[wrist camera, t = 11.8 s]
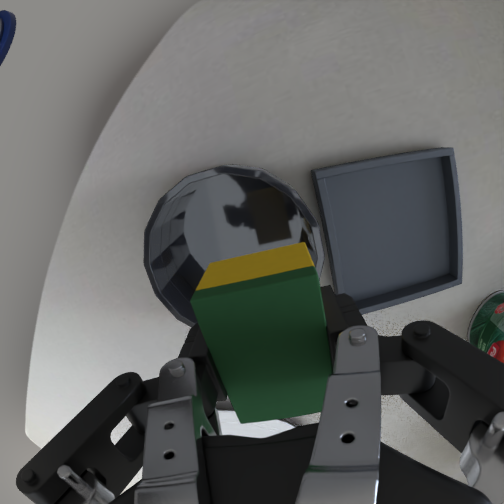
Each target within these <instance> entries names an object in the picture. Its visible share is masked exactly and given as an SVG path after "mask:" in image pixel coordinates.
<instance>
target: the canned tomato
mask: <svg viewBox="0 0 504 504" xmlns="http://www.w3.org/2000/svg"><path fill="white" fill-rule="evenodd" d="M468 342H469V343H470V344H472V345H474V346H475V347H477V348H479V349H481V350H482V351H484V352H486V353H487V354H489V355H491V356H492V357H494V358H496V359H497V360H499V361H501V362H502V363H504V291H498V292H496V293H493V294H492V295H490V296H489V297H488V298H487V299H486V300H484V302H483V303H482V304H481V305H480V306H479V308H478V309H477V311H476V312H475V314H474V316H473V318H472V320H471V322H470V326H469V329H468Z"/></svg>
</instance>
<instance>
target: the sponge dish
mask: <svg viewBox="0 0 504 504" xmlns="http://www.w3.org/2000/svg"><path fill="white" fill-rule="evenodd" d="M311 174H312V178H313V182H314V187H315V191H316V196H317V200H318V205H319V210H320V214H321V219H322V224H323V229H324V234H325V239H326V245H327V250H328V256H329V261H330V267H331V273H332V279H333V285H334V291H335V295H338V294H342V293H345V294H347V295H349V296H351V297H352V298H353V300H354V302H355V304H356V305H357V307H358V310H359V311H360V313H361V315H362V314H366V313H370V312H373V311H377V310H380V309H384V308H387V307H391V306H394V305H398V304H401V303H404V302H408V301H411V300H414V299H417V298H421V297H424V296H427V295H430V294H433V293H436V292H439V291H442V290H445V289H448V288H451V287H454V286H456V285H459V284H462V265H463V245H462V218H461V204H460V193H459V183H458V175H457V168H456V161H455V155H454V149H453V148H443V147H441V148H434V149H426V150H420V151H413V152H406V153H400V154H394V155H388V156H382V157H376V158H371V159H365V160H360V161H354V162H349V163H344V164H339V165H334V166H329V167H324V168H320V169H315V170H311Z"/></svg>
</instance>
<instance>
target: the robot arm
mask: <svg viewBox="0 0 504 504" xmlns="http://www.w3.org/2000/svg"><path fill="white" fill-rule="evenodd" d="M3 31H4V22H3V19H2V18H0V42H1V39H2V35H3ZM320 288H321V294H322V300H323V305H324V312H325V318H326V324H327V326H326V330H327V336H328V343H329V350H330V357H331V364H332V372H333V374H329V375H328V379H327V384H326V390H325V395H324V401H323V406H322V411H321V416H320V421H319V423H314V424H309V425H304V426H298V427H295V428H292V429H290V430H287V431H284V432H281V433H278V434H275V435H272V436H269V437H265V438H254V437H245V436H237V435H222V431H221V425H220V420H219V414H218V411H217V409H216V402H217V401H226V399H227V391H226V389H225V386H224V384H223V382H222V379H221V377H220V375H219V372H218V370H217V367H216V365H215V363H214V360H213V358H212V355H211V353H210V350H209V348H208V347H207V344H206V342H205V339H204V337H203V334H202V332H201V329H200V327H199V324H198V323H196V324H195V325H194V326H193V327H192V328H191V329H190V331H189V333H188V335H187V338H186V340H185V343H184V344H183V347H182V349H181V351H180V354H179V356H178V358H176V359H173V360H171V361H169V362H168V363H166V364H165V365H164V366H163V367H162V368H161V370H160V373H159V377H157V378H153V379H150V380H146V381H142V379H141V377H140V376H139V374H137V373H134V372H128V373H124V374H122V375H119V376H118V377H116V378H115V379H114V380H113V381H112V382H111V383H109V384H108V385H107V386H106V387H105V388H104V389H103V390H102V391H101V392H100V393H99V394H98V395H97V396H96V397H95V398H94V399H93V400H92V401H91V402H90V403H89V404H88V405H87V406H86V407H85V408H84V409H83V410H82V411H81V412H79V413H78V414H77V415H76V416H75V417H74V418H73V419H72V420H71V421H70V422H69V423H68V424H67V425H66V426H65V427H64V428H63V429H62V430H61V431H60V432H59V433H58V434H57V435H56V436H55V437H54V438H53V439H52V440H51V441H50V442H49V443H48V444H46V445H45V446H44V447H43V448H42V449H41V450H40V451H39V452H38V453H37V454H36V455H35V456H34V457H33V458H32V459H31V460H30V461H29V462H28V463H27V464H26V465H25V466H24V467H23V468H22V469H21V470H20V471H19V473H18V475H17V478H16V485H17V487H18V489H19V490H20V491H21V492H22V493H23V494H24V495H25V496H27V497H28V498H29V499H30V500H32V501H33V502H34V503H35V504H502V503H503V502H504V363H502V362H501V361H499V360H497V359H496V358H494V357H492V356H491V355H489V354H487V353H486V352H484V351H482V350H481V349H479V348H477V347H475V346H474V345H472V344H470V343H469V342H467V341H465V340H463V339H462V338H460V337H458V336H456V335H455V334H453V333H451V332H449V331H448V330H446V329H444V328H442V327H441V326H439V325H437V324H435V323H433V322H430V321H415V322H412V323H410V324H408V325H407V326H405V327H404V329H403V330H402V336H390V337H387V336H380V335H378V333H377V331H376V330H375V329H374V328H372V327H370V326H367V324H366V322H365V320H364V318H363V317H362V315H361V313H360V311H359V310H358V307H357V305H356V304H355V302H354V300H353V298H352V297H351V296H349V295H347V294H345V293H342V294H338V295H335V294H334V292H333V290H332V288H331V286H330V285H328V286H324V287H320ZM381 395H400V397H401V398H402V399H403V400H404V401H405V402H406V403H407V404H408V405H409V406H410V407H411V408H412V409H413V410H415V411H416V412H417V413H418V414H419V415H420V416H421V417H422V418H423V419H424V420H426V421H427V422H428V423H429V424H430V425H431V426H432V427H433V428H434V429H435V430H437V431H438V432H439V433H440V434H441V435H442V436H443V437H444V438H445V439H446V440H448V441H449V442H450V443H451V444H452V445H453V446H454V447H455V448H456V449H457V450H459V451H460V452H461V453H462V454H461V457H460V468H461V471H462V472H463V473H464V475H465V476H466V478H467V482H468V485H466V484H464V483H462V482H459V481H457V480H455V479H453V478H451V477H448V476H446V475H444V474H442V473H440V472H438V471H436V470H434V469H432V468H430V467H428V466H426V465H424V464H422V463H420V462H418V461H416V460H414V459H412V458H410V457H408V456H406V455H404V454H402V453H400V452H399V451H397V450H395V449H393V448H391V447H389V446H388V445H386V444H384V443H382V442H381V441H380V439H381ZM125 416H127V418H128V419H129V421H130V422H131V423H132V426H131V427H130V428H129V430H128V431H127V432H126V433H125V434H124V435H123V436H122V438H121V439H120V440H119V441H118V442H117V443H116V444H115V445H114V444H113V443H112V441H111V438H110V435H111V432H112V430H113V429H114V428H115V427H116V426H117V425H118V423H119V422H120V421H121V420H122V419H123V418H124V417H125ZM142 466H143V472H142V479H141V480H140V481H139V482H137V483H136V484H134V485H133V486H132V487H130V488H129V489H128V490H126V491H125V492H124V493H122V491H123V490H124V489H125V488H126V486H127V485H128V484H129V483H130V481H131V480H132V479H133V478H134V476H135V475H136V474H137V473H138V471H139V470H140V469H141V467H142ZM121 493H122V494H121ZM120 494H121V495H120Z"/></svg>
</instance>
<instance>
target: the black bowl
mask: <svg viewBox="0 0 504 504" xmlns="http://www.w3.org/2000/svg"><path fill="white" fill-rule="evenodd" d="M301 242H305V244H306V247H307V249H308V251H309V254H310V256H311V259H312V261H313V263H314V266H315V268H316V271H317V273H318V277H319V281H320V276H321V272H322V268H323V263H324V259H325V258H324V257H325V256H324V250H323V245H322V240H321V235H320V230H319V225H318V222H317V220H316V219H315V217H314V216H313V214H312V213H311V211H310V210H309V209H308V207H307V206H306V204H305V203H304V202H303V200H302V199H301V197H300V196H299V195H298V193H297V192H296V191H295V189H294V188H293V187H292V186H291V185H290V184H288V183H287V182H285V181H283V180H282V179H280V178H279V177H277V176H275V175H273V174H272V173H270V172H268V171H267V170H265V169H263V168H257V167H250V166H242V165H235V164H230V165H223V166H219V167H216V168H212V169H209V170H205V171H202V172H198V173H195V174H192V175H189V176H187V177H185V178H184V179H182V180H181V181H180V182H179V183H178V184H177V185H175V186H174V187H173V188H172V189H171V190H170V191H168V192H167V193H166V194H165V195H164V196H163V197H161V198H160V200H159V201H158V203H157V205H156V207H155V209H154V211H153V213H152V215H151V218H150V220H149V222H148V224H147V226H146V229H145V232H144V267H145V269H146V272H147V275H148V277H149V280H150V283H151V285H152V288H153V290H154V293H155V294H156V296H157V297H158V299H159V300H160V301H161V302H162V303H163V304H164V305H165V307H166V308H167V309H168V310H169V311H170V312H171V313H172V314H173V315H174V317H175V318H176V319H178V320H179V321H181V322H183V323H185V324H186V325H188V326H190V327H193V326H194V325H195V324H196V323H198V321H197V319H196V316H195V313H194V311H193V308H192V305H191V302H190V300H191V298H192V296H193V294H194V292H195V291H196V288H197V286H198V284H199V283H200V281H201V279H202V277H203V275H204V273H205V271H206V269H207V268H208V266H209V264H210V263H213V262H217V261H221V260H226V259H230V258H235V257H239V256H244V255H248V254H253V253H257V252H261V251H266V250H270V249H275V248H279V247H284V246H288V245H293V244H297V243H301Z"/></svg>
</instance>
